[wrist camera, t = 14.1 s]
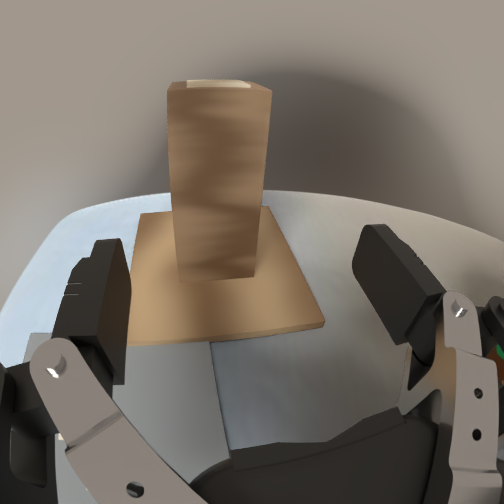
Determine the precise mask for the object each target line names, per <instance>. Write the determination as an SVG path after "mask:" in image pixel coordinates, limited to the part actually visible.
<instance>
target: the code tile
mask: <svg viewBox="0 0 504 504" xmlns="http://www.w3.org/2000/svg"><path fill="white" fill-rule="evenodd" d="M51 336H52V334H38V333H31V334H30V337H29V341H28V344H27V348H26V352H25V356H24V360H23V363H25V362H28V361H30V360H31V357H32V355H33V353H34V351H35V350H36V349H37V348H38V347H39V346H40V345H41V344H42V343H43V342H45V341H47V340H50V339H51ZM112 399H113V400H114V401H115V403H116V404H117V405H118V407H119V408H120V409H121V411H122V412H123V413H124V414H125V416H126V417H127V418H128V419H129V421H130V422H131V423H132V424H133V425H134V427H135V428H136V429H137V430H138V431H139V433H140V434H141V435H142V436H143V437H144V438H145V439H146V441H147V442H148V443H149V444H150V445H151V446H152V447H153V448H154V449H155V450H156V451H157V453H158V454H159V455H160V456H161V457H162V458H163V459H164V460H165V461H166V462H167V463H168V464H169V465H170V466H171V467H172V468H173V469H174V470H175V471H176V472H177V473H178V474H179V475H180V476H181V477H182V478H184V479H185V480H186V481H187V482H188V483H190V482H191V481H192V480H193V479H194V478H195V477H197V476H198V475H199V474H200V473H201V472H203V471H205V470H206V469H208V468H209V467H211V466H213V465H215V464H217V463H219V462H221V461H223V460H226V459H228V458H230V457H229V452H228V447H227V442H226V437H225V432H224V427H223V421H222V416H221V411H220V405H219V399H218V394H217V388H216V382H215V376H214V370H213V363H212V357H211V350H210V344H209V341H203V342H192V343H179V344H164V345H146V346H127V348H126V363H125V385H113V396H112ZM10 444H11V440H10ZM66 448H67V446H66V443H65V441H64V439H63V438H62V436H61V434H60V433H58V434H55V466H56V483H57V494H58V504H98V502H97V501H96V500H95V499H94V497H93V496H92V495H91V493H90V492H89V491H88V489H87V488H86V487H85V485H84V484H83V483H82V481H81V480H80V478H79V477H78V475H77V474H76V473H75V471H74V470H73V468H72V467H71V465H70V463H69V461H68V460H67V457H66V455H65V449H66Z"/></svg>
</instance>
